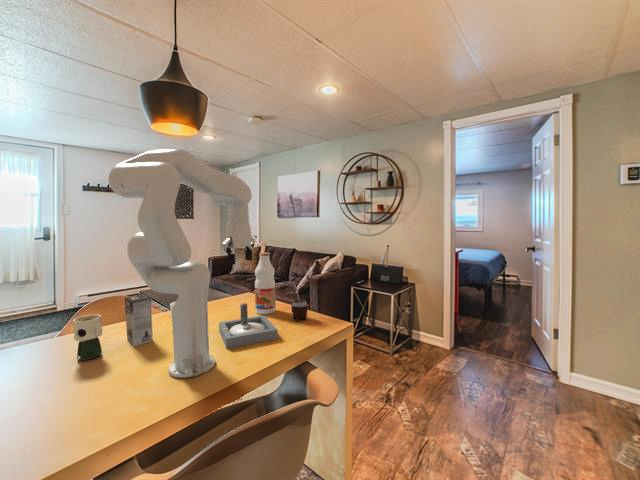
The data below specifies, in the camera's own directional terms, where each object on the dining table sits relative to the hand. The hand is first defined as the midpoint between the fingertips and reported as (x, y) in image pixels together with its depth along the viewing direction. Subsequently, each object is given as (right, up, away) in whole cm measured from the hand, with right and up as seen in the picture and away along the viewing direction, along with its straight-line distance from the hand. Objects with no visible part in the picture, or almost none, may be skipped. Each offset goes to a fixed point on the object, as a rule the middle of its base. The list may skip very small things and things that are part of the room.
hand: (240, 262), depth 116 cm
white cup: (-25, -27, +4) cm, 37 cm away
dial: (+4, -26, -5) cm, 27 cm away
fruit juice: (+6, -25, +23) cm, 35 cm away
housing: (+4, -27, -5) cm, 28 cm away
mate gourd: (+22, -26, +12) cm, 36 cm away
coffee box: (-34, -28, -9) cm, 45 cm away
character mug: (-42, -29, -22) cm, 56 cm away
